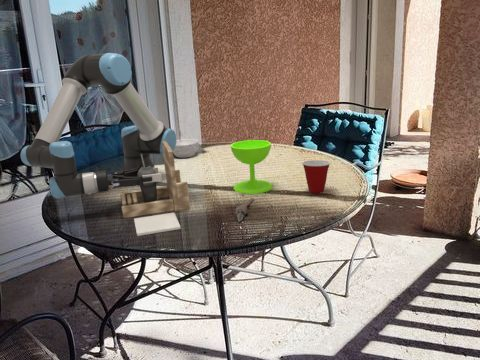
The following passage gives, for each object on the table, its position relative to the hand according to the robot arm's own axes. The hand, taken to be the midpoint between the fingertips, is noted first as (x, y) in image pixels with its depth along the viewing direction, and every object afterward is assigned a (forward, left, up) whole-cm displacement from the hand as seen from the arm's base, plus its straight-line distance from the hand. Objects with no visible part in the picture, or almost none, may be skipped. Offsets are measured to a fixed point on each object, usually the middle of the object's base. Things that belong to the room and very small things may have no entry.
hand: (159, 173), depth 170 cm
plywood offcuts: (-10, -7, -12) cm, 17 cm away
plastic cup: (+54, +23, -12) cm, 60 cm away
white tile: (+8, -19, -12) cm, 24 cm away
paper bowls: (-25, +72, -12) cm, 77 cm away
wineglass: (+28, +24, -12) cm, 39 cm away
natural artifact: (+34, -1, -13) cm, 36 cm away
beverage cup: (-4, -3, -12) cm, 13 cm away
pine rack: (-3, -2, -12) cm, 12 cm away
